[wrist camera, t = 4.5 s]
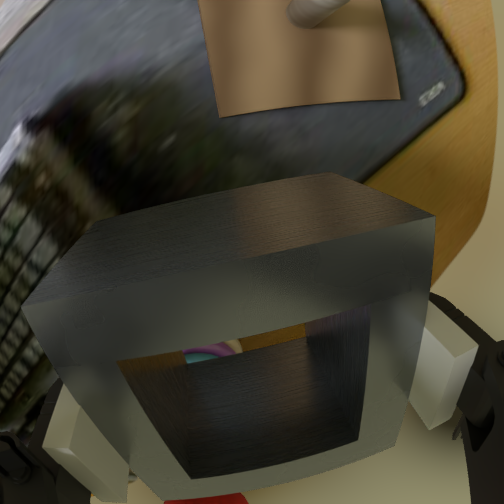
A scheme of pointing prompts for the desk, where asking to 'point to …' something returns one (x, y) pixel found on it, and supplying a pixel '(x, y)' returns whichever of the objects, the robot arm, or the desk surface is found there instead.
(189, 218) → the collar
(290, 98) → the post base
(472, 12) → the desk surface
